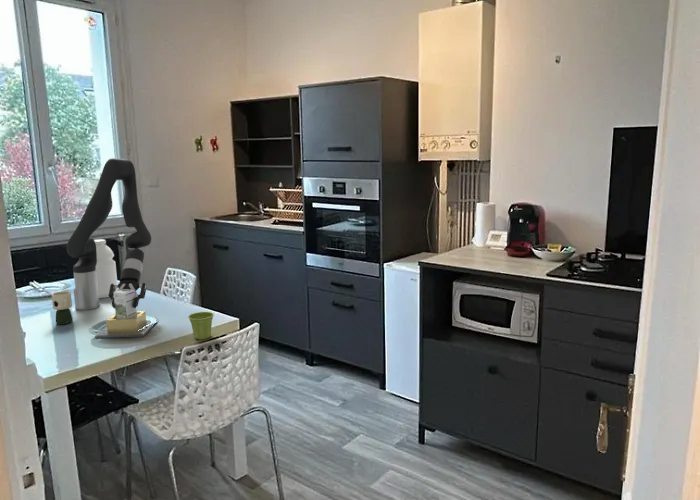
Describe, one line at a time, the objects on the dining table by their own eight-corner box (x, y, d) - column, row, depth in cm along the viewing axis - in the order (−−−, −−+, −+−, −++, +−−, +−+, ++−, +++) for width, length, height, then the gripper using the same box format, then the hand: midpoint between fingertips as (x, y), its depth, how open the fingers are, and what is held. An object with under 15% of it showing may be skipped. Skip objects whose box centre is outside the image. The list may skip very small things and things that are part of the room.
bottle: (103, 290, 279) (98, 237, 274) (124, 292, 274) (119, 238, 270) (81, 297, 266) (75, 241, 261) (103, 299, 261) (98, 243, 256)
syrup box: (138, 324, 216) (135, 289, 213) (127, 328, 210) (124, 292, 208) (126, 322, 218) (123, 288, 215) (116, 327, 212) (112, 291, 209)
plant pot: (191, 342, 198) (189, 320, 196) (188, 335, 206) (186, 313, 205) (217, 339, 202) (215, 316, 200) (212, 331, 210) (211, 310, 209)
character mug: (51, 322, 226) (47, 292, 223) (69, 318, 230) (66, 289, 228) (59, 328, 218) (55, 297, 215) (77, 324, 223) (74, 293, 220)
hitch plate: (95, 338, 205) (94, 323, 204) (113, 323, 222) (111, 309, 221) (143, 336, 206) (142, 321, 205) (157, 322, 223) (156, 308, 222)
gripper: (110, 267, 217) (102, 303, 207) (146, 266, 218) (140, 302, 208) (116, 277, 223) (108, 312, 214) (151, 276, 224) (145, 311, 214)
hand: (124, 307), depth 211 cm, fingers closed on syrup box, 7 cm apart
